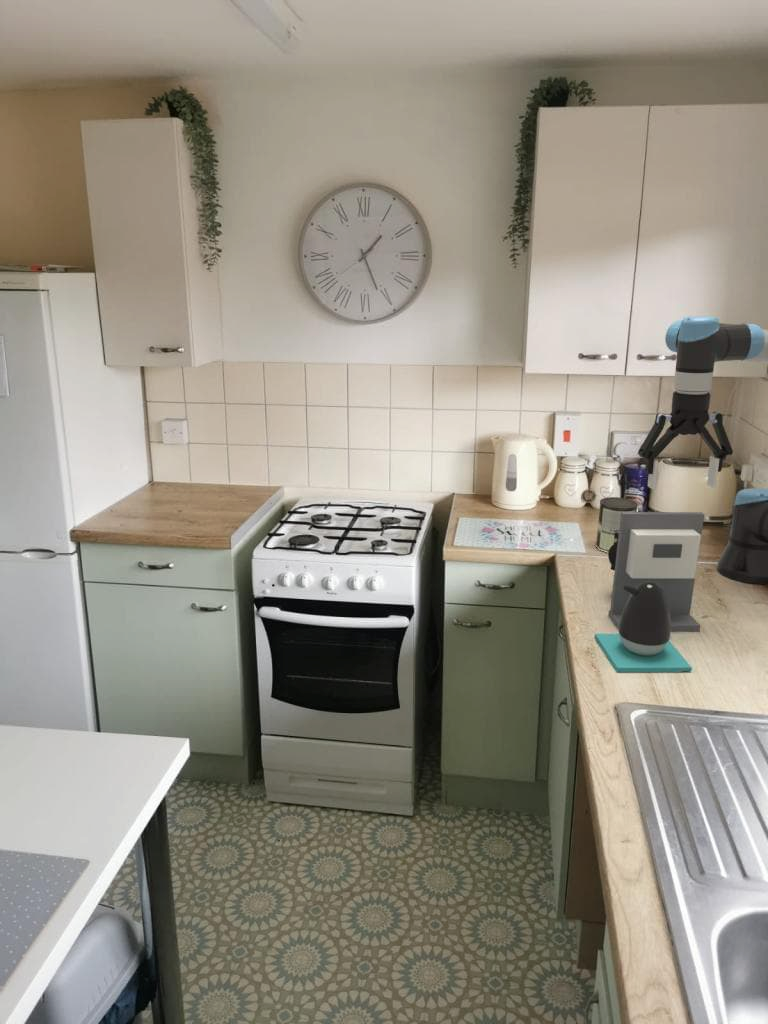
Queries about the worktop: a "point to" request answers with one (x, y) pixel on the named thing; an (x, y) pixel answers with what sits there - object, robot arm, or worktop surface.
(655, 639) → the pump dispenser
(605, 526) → the coffee can
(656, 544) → the mounted unit
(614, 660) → the mat
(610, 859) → the worktop surface
